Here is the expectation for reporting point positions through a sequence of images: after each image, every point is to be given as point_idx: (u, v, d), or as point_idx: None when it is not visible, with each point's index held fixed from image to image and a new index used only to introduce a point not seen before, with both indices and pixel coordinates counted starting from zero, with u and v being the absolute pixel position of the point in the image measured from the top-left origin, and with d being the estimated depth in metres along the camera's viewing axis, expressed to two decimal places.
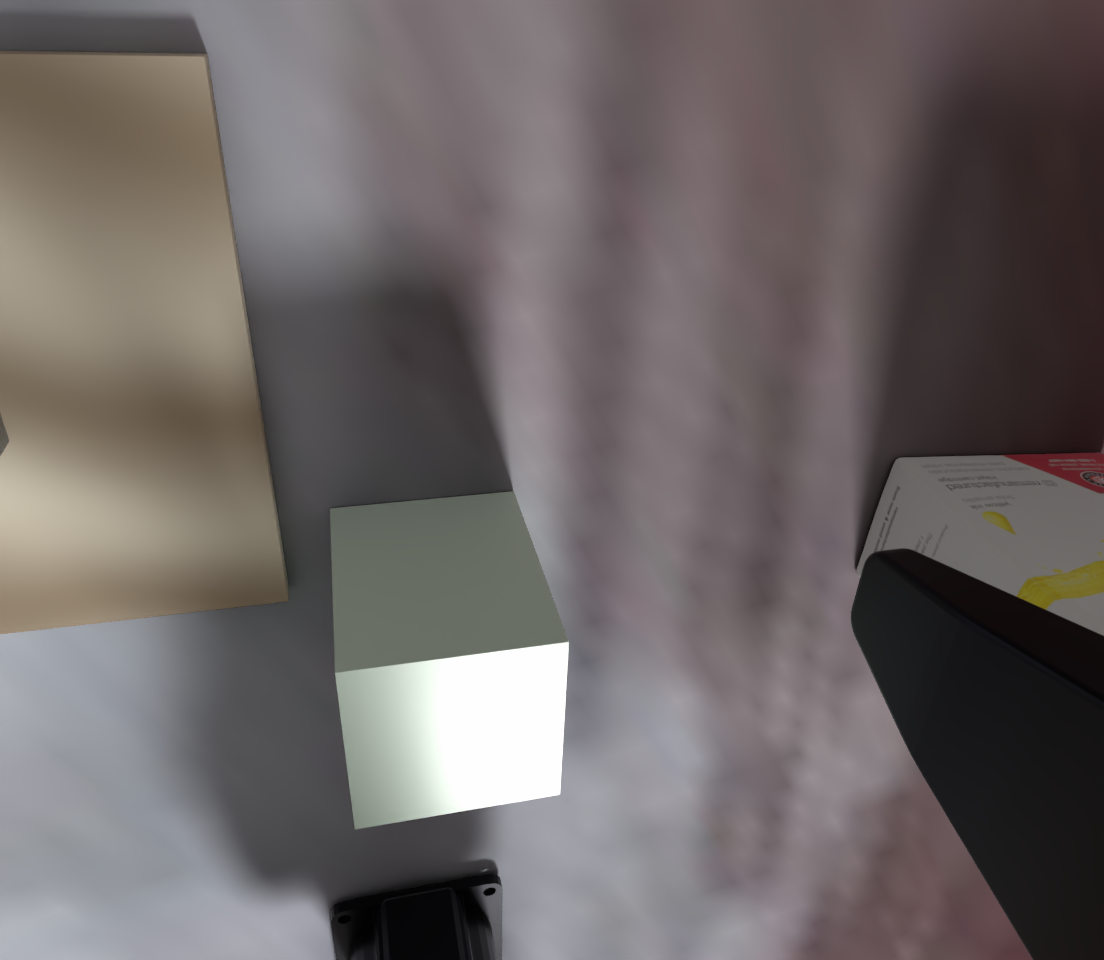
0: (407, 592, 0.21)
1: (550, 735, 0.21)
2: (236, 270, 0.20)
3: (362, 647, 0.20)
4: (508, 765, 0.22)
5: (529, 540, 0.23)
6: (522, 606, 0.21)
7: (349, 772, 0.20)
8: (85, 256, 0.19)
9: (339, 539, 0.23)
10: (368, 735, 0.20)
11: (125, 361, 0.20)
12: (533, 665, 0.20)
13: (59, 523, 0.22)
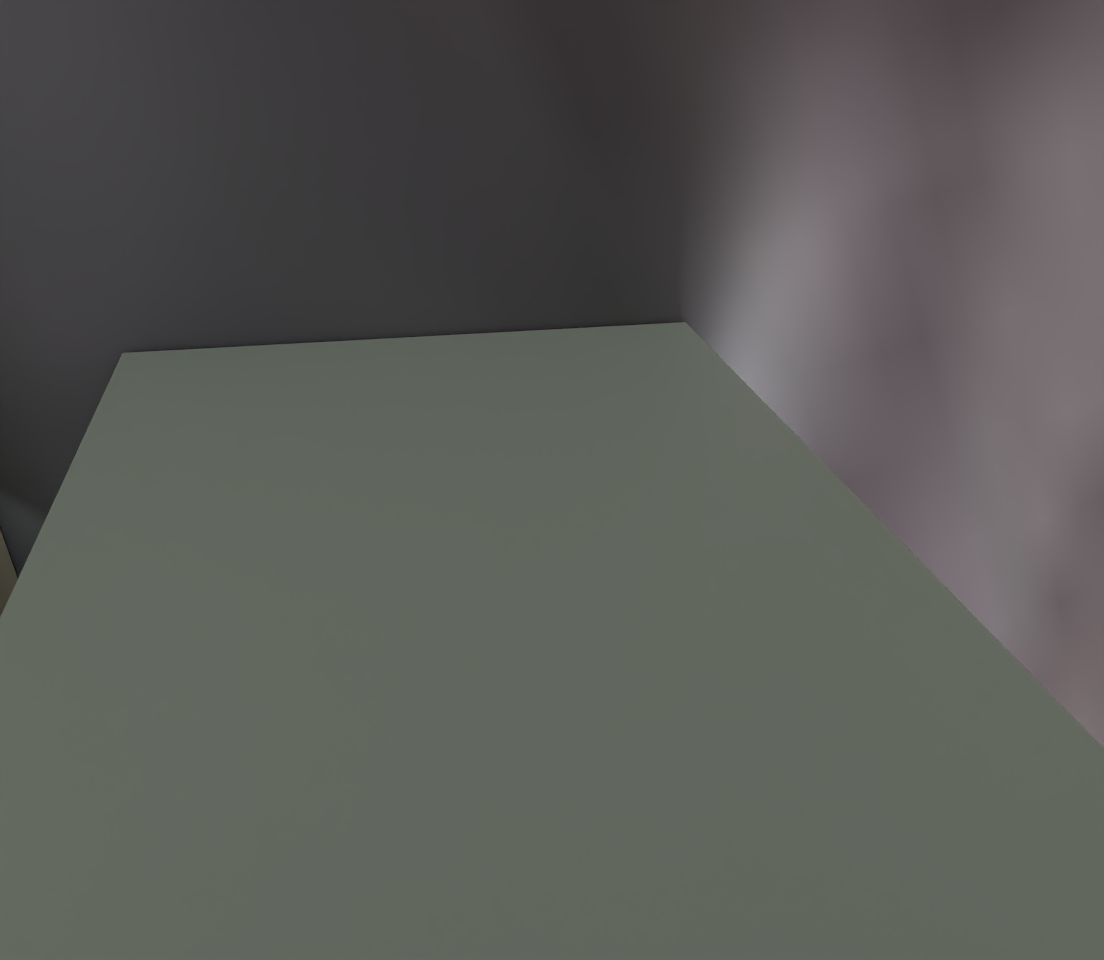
0: (346, 641, 0.05)
1: None
2: None
3: None
4: None
5: (796, 442, 0.07)
6: (910, 713, 0.04)
7: None
8: None
9: (116, 434, 0.06)
10: None
11: None
12: None
13: None
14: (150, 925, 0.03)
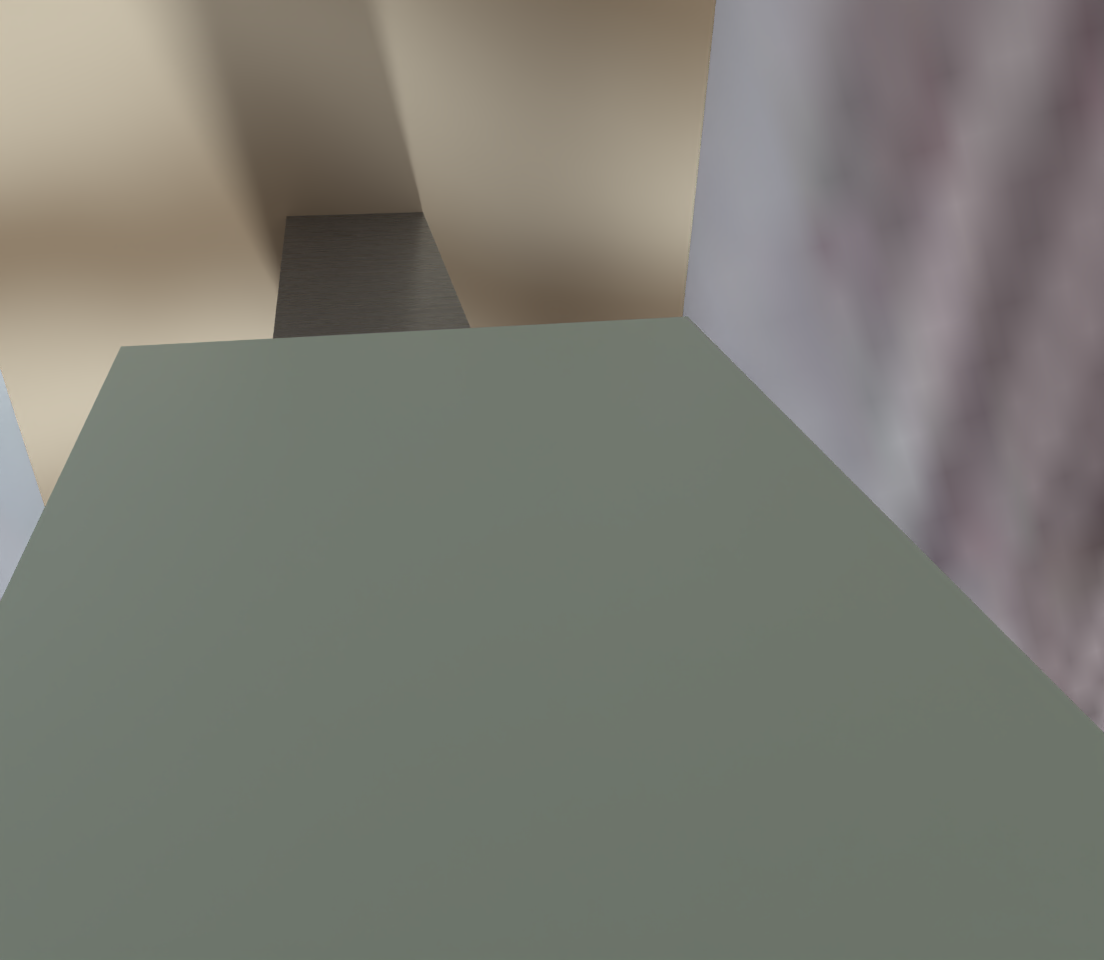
0: (346, 634, 0.04)
1: None
2: (700, 138, 0.18)
3: None
4: None
5: (799, 436, 0.07)
6: (916, 707, 0.04)
7: None
8: (554, 116, 0.17)
9: (115, 428, 0.06)
10: None
11: (565, 244, 0.18)
12: None
13: None
14: (147, 919, 0.03)
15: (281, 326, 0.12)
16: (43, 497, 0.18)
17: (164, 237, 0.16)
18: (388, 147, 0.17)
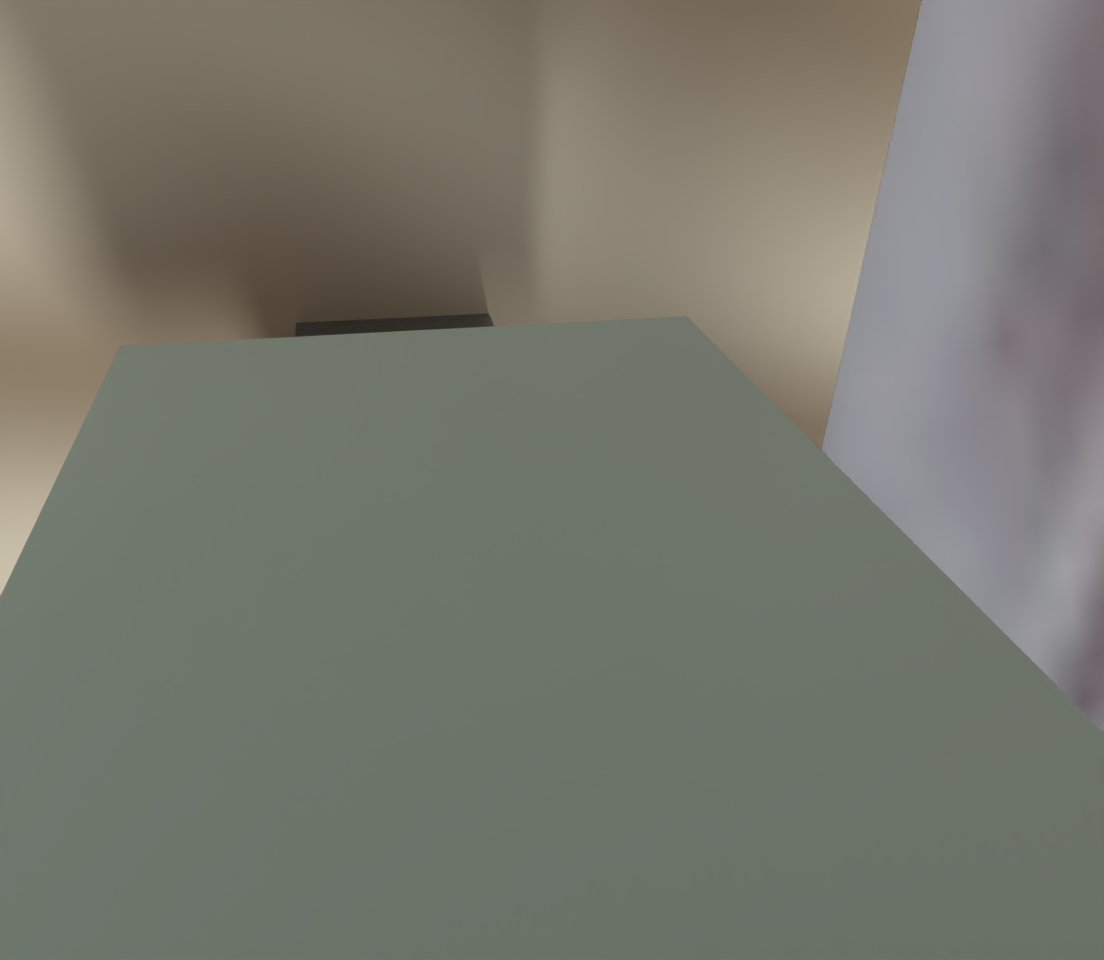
0: (344, 634, 0.04)
1: None
2: (872, 209, 0.13)
3: None
4: None
5: (799, 435, 0.07)
6: (915, 706, 0.04)
7: None
8: (679, 182, 0.12)
9: (113, 427, 0.06)
10: None
11: None
12: None
13: None
14: (144, 920, 0.03)
15: None
16: None
17: None
18: (444, 227, 0.11)
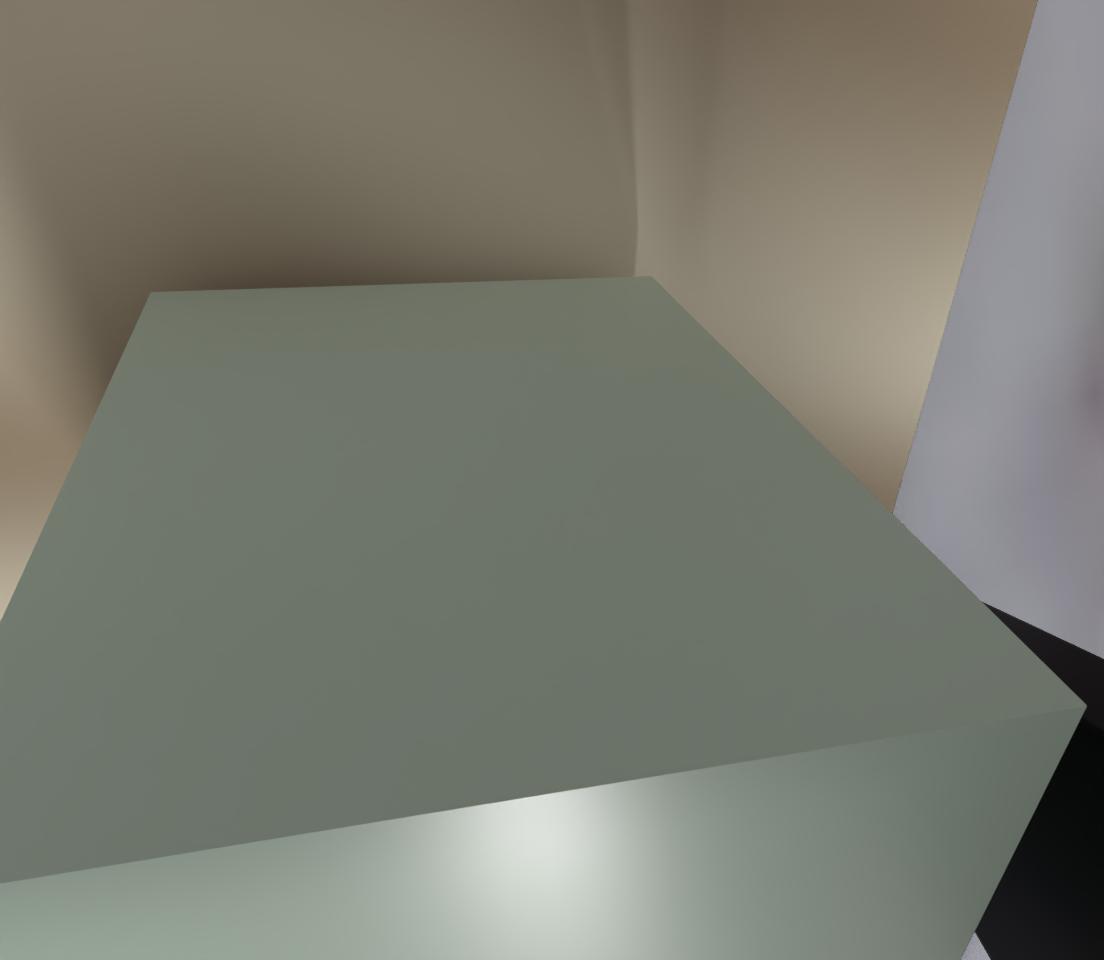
0: (350, 497, 0.06)
1: None
2: (962, 255, 0.11)
3: (96, 733, 0.04)
4: None
5: (738, 367, 0.08)
6: (804, 552, 0.05)
7: None
8: (744, 228, 0.10)
9: (151, 352, 0.07)
10: None
11: None
12: (910, 810, 0.04)
13: None
14: (203, 667, 0.04)
15: None
16: None
17: (85, 434, 0.10)
18: None
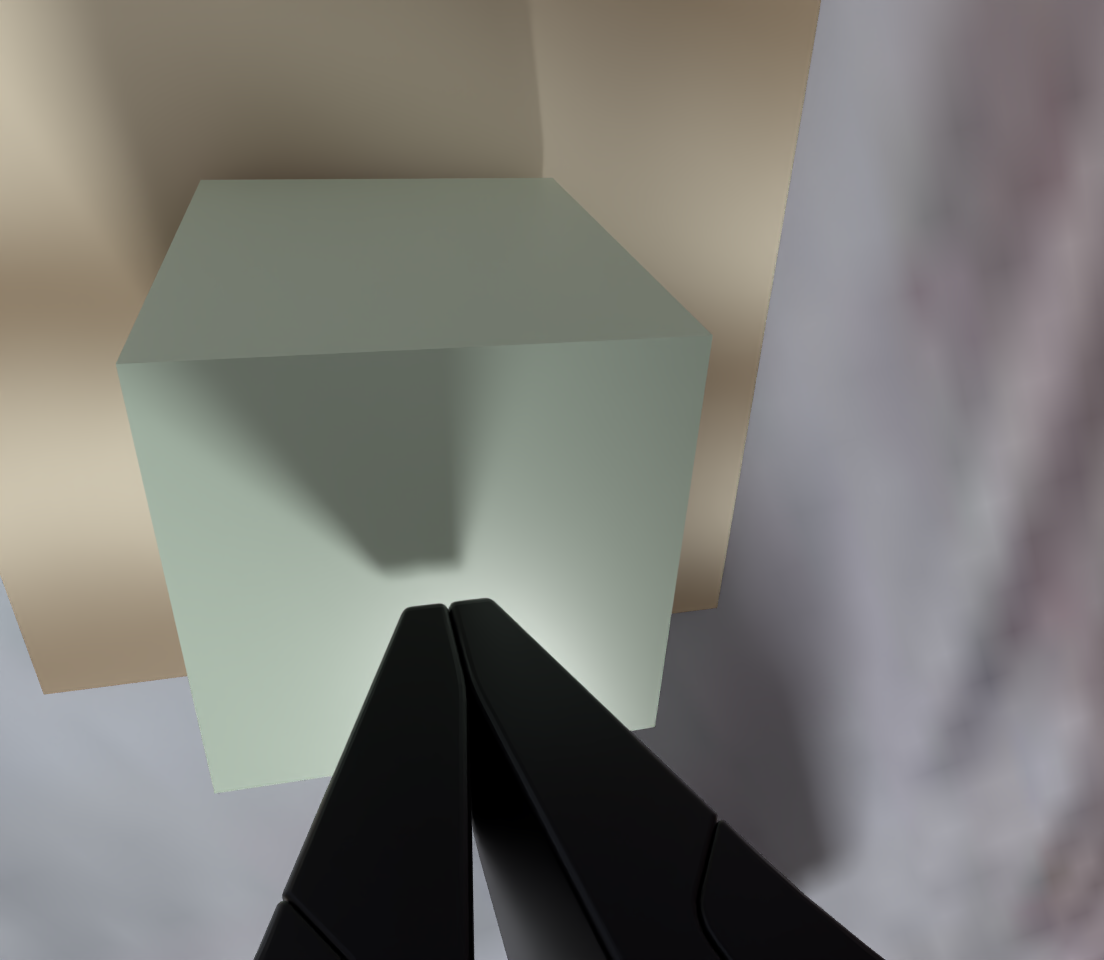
0: (333, 264, 0.10)
1: (647, 587, 0.10)
2: (790, 171, 0.15)
3: (204, 328, 0.08)
4: (553, 655, 0.10)
5: (591, 220, 0.12)
6: (592, 287, 0.09)
7: (187, 655, 0.09)
8: (621, 145, 0.14)
9: (206, 206, 0.11)
10: (225, 559, 0.08)
11: None
12: (625, 395, 0.08)
13: None
14: (254, 314, 0.08)
15: None
16: (6, 587, 0.16)
17: None
18: None
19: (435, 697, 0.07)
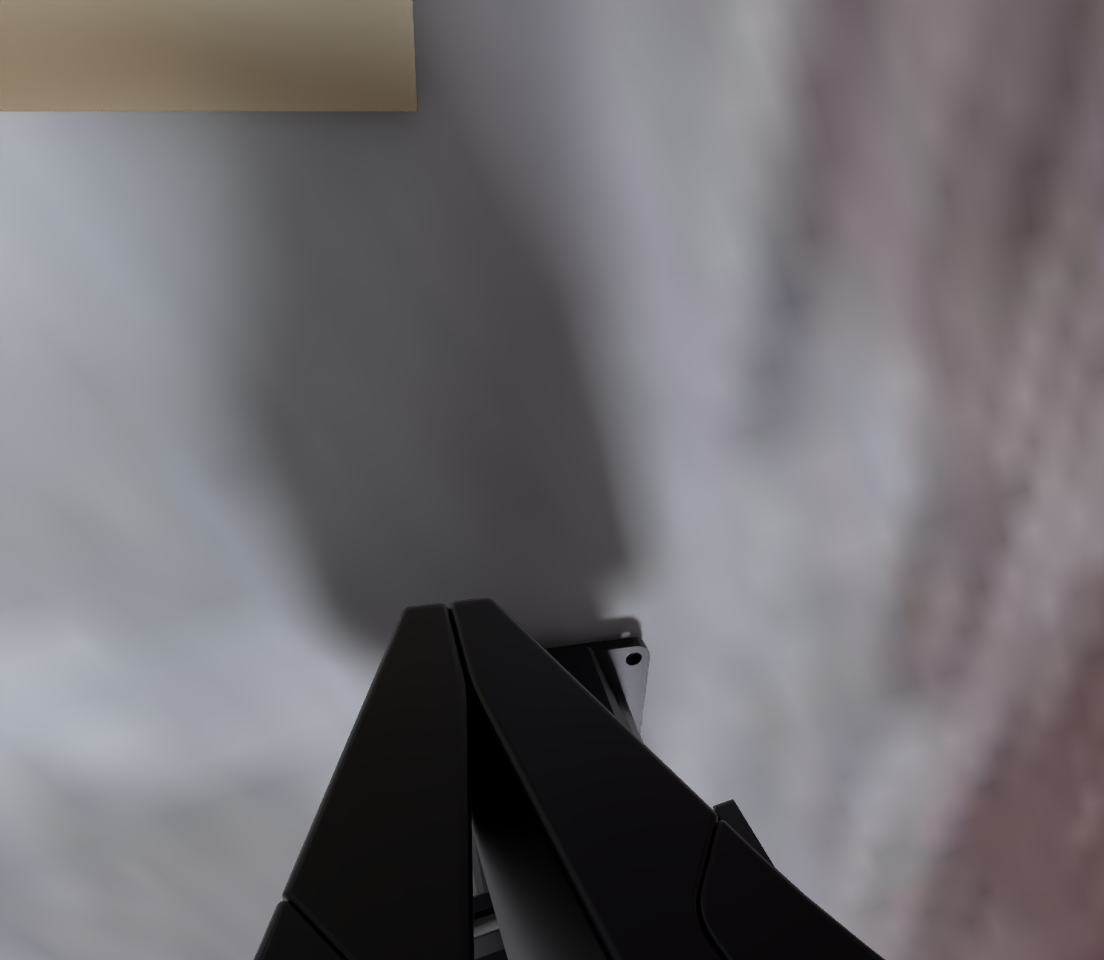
0: None
1: None
2: None
3: None
4: None
5: None
6: None
7: None
8: None
9: None
10: None
11: None
12: None
13: None
14: None
15: None
16: None
17: None
18: None
19: (435, 697, 0.07)
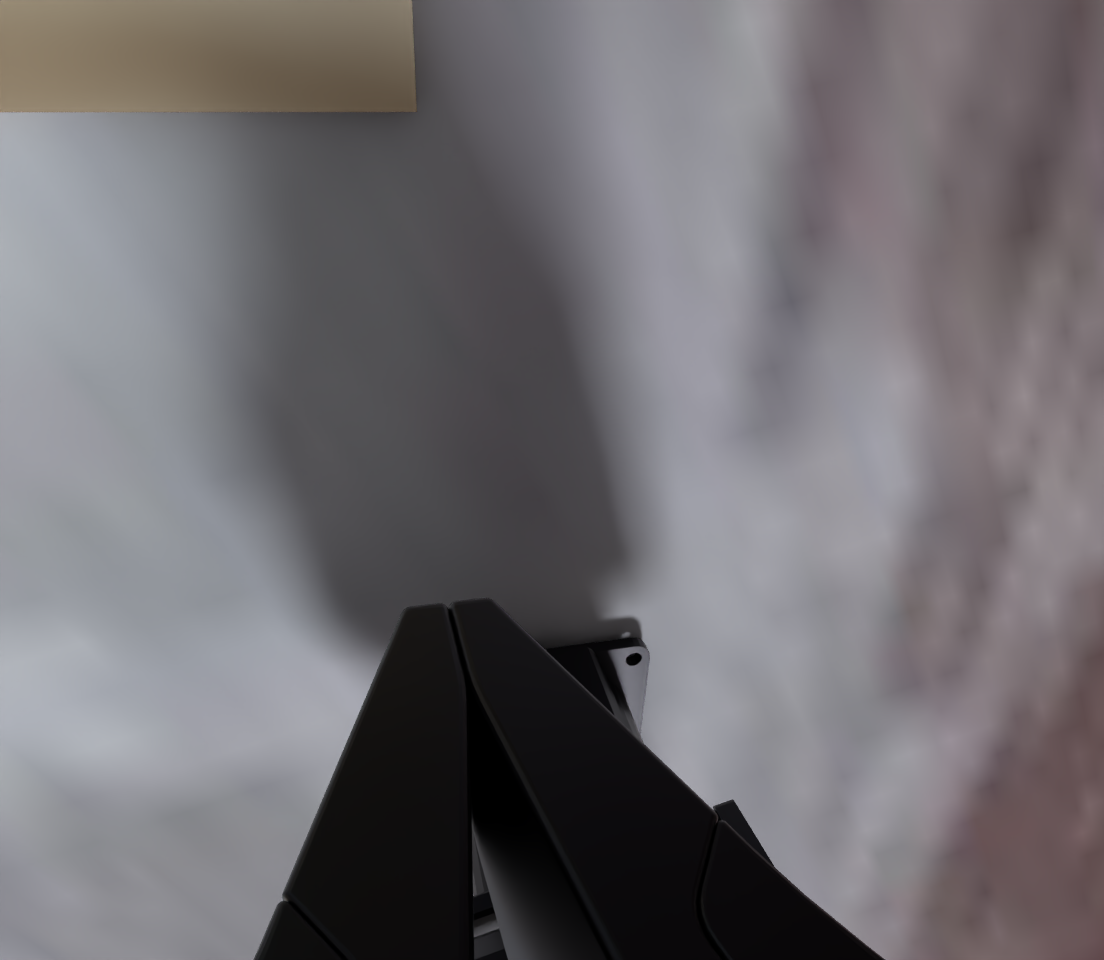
0: None
1: None
2: None
3: None
4: None
5: None
6: None
7: None
8: None
9: None
10: None
11: None
12: None
13: None
14: None
15: None
16: None
17: None
18: None
19: (435, 697, 0.07)
